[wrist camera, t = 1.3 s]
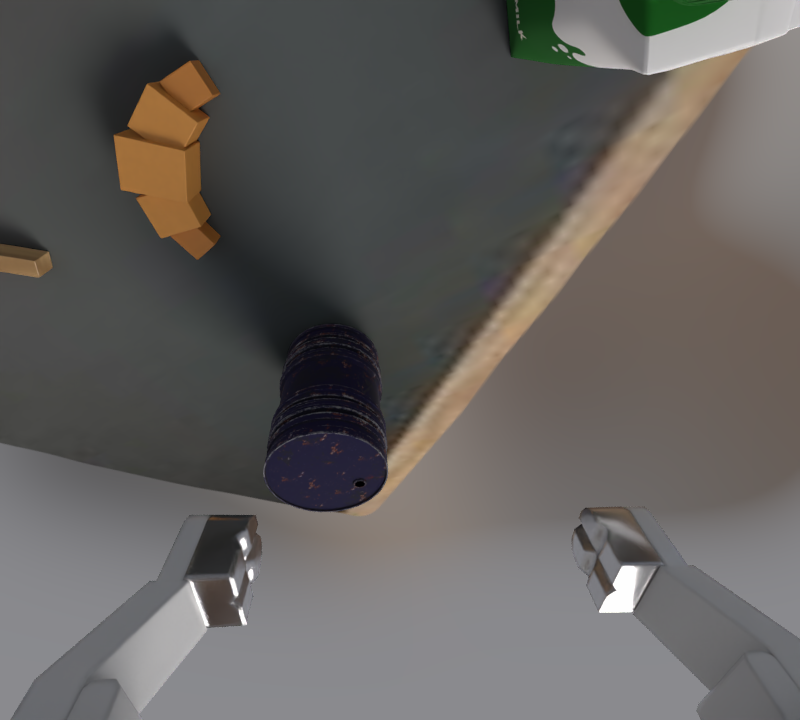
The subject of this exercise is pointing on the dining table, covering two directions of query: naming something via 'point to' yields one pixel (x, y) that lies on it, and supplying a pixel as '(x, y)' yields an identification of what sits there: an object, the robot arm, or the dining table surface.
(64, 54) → the dining table surface
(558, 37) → the milk carton
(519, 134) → the dining table surface
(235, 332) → the dining table surface
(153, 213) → the orange block cluster
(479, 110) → the dining table surface
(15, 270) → the oak frame
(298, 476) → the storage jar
